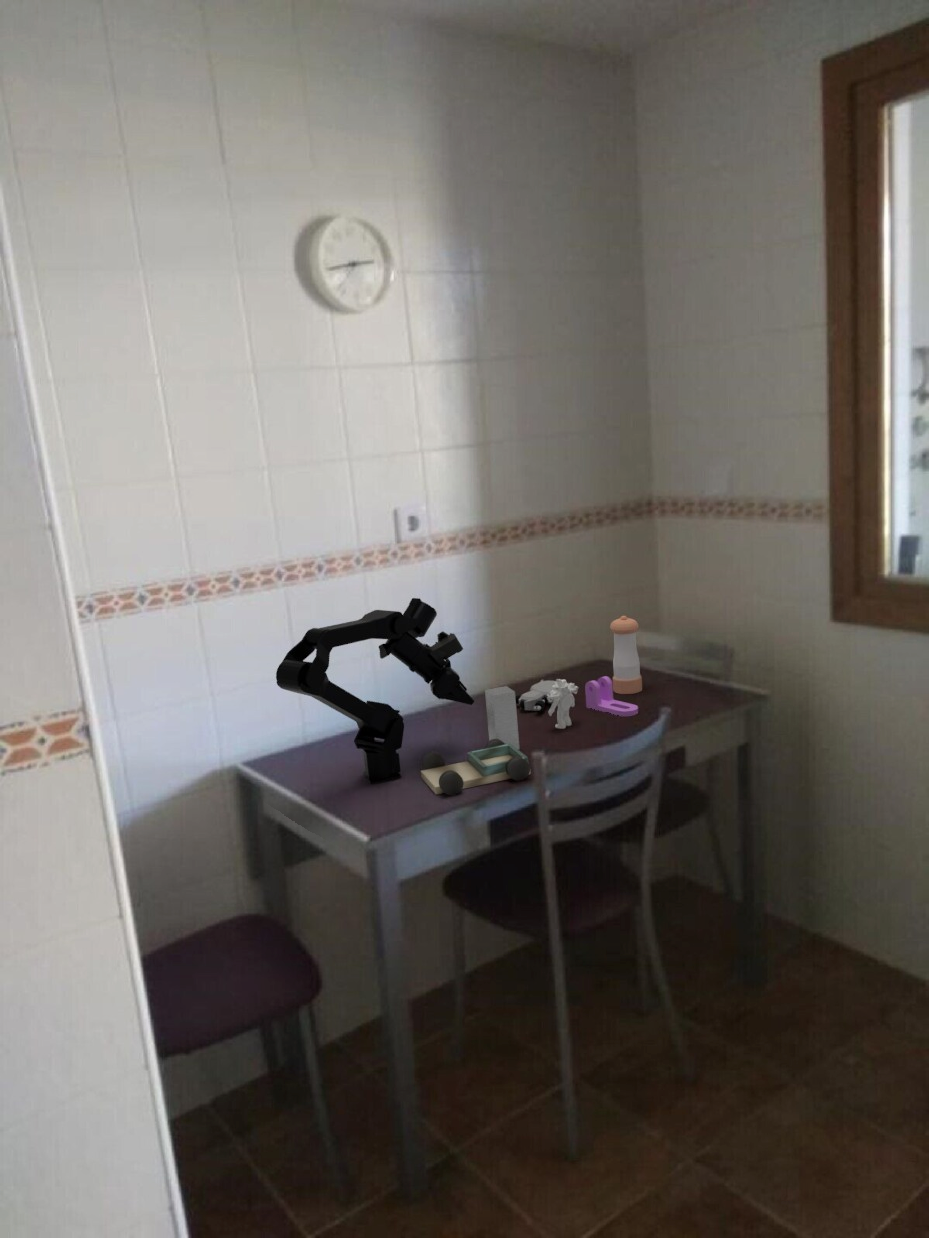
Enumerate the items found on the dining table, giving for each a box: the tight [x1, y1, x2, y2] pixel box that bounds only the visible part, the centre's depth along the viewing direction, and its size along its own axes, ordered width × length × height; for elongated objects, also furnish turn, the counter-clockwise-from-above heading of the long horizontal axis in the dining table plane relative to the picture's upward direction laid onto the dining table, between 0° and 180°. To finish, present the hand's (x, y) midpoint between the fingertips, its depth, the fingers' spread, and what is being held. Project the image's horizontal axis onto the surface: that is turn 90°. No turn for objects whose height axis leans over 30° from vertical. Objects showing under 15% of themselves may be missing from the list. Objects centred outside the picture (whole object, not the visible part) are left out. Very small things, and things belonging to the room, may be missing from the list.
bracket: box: [584, 675, 639, 717], centre depth 225 cm, size 13×6×7 cm, turn 39°
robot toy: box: [515, 679, 580, 712], centre depth 234 cm, size 12×4×15 cm
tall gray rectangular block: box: [484, 685, 520, 750], centre depth 206 cm, size 5×5×13 cm
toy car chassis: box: [420, 739, 531, 796], centre depth 192 cm, size 20×14×4 cm
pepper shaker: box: [609, 615, 643, 695], centre depth 238 cm, size 7×7×19 cm
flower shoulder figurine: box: [547, 678, 579, 730], centre depth 217 cm, size 9×4×12 cm, turn 134°
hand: (469, 696), depth 204 cm, fingers open, 9 cm apart
